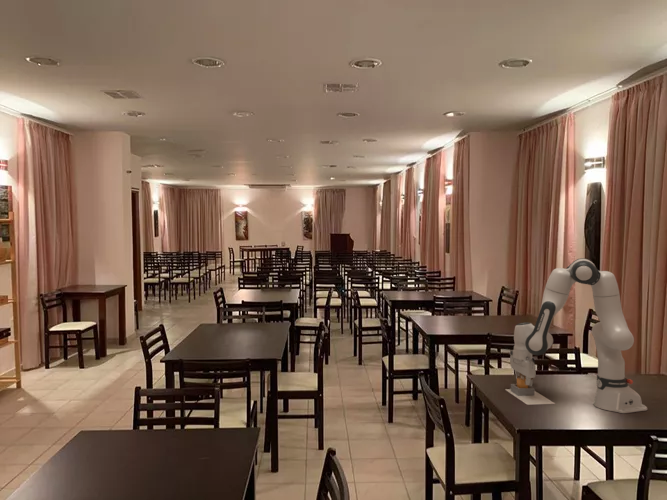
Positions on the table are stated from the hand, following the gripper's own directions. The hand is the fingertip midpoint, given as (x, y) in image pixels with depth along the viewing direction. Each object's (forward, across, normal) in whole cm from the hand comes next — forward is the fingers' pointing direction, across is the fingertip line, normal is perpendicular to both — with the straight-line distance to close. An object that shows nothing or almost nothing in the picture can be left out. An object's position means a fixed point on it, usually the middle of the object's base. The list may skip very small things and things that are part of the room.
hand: (522, 382), depth 263 cm
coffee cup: (+7, +16, -10) cm, 20 cm away
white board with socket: (+7, -5, -1) cm, 8 cm away
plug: (+6, 0, 0) cm, 6 cm away
